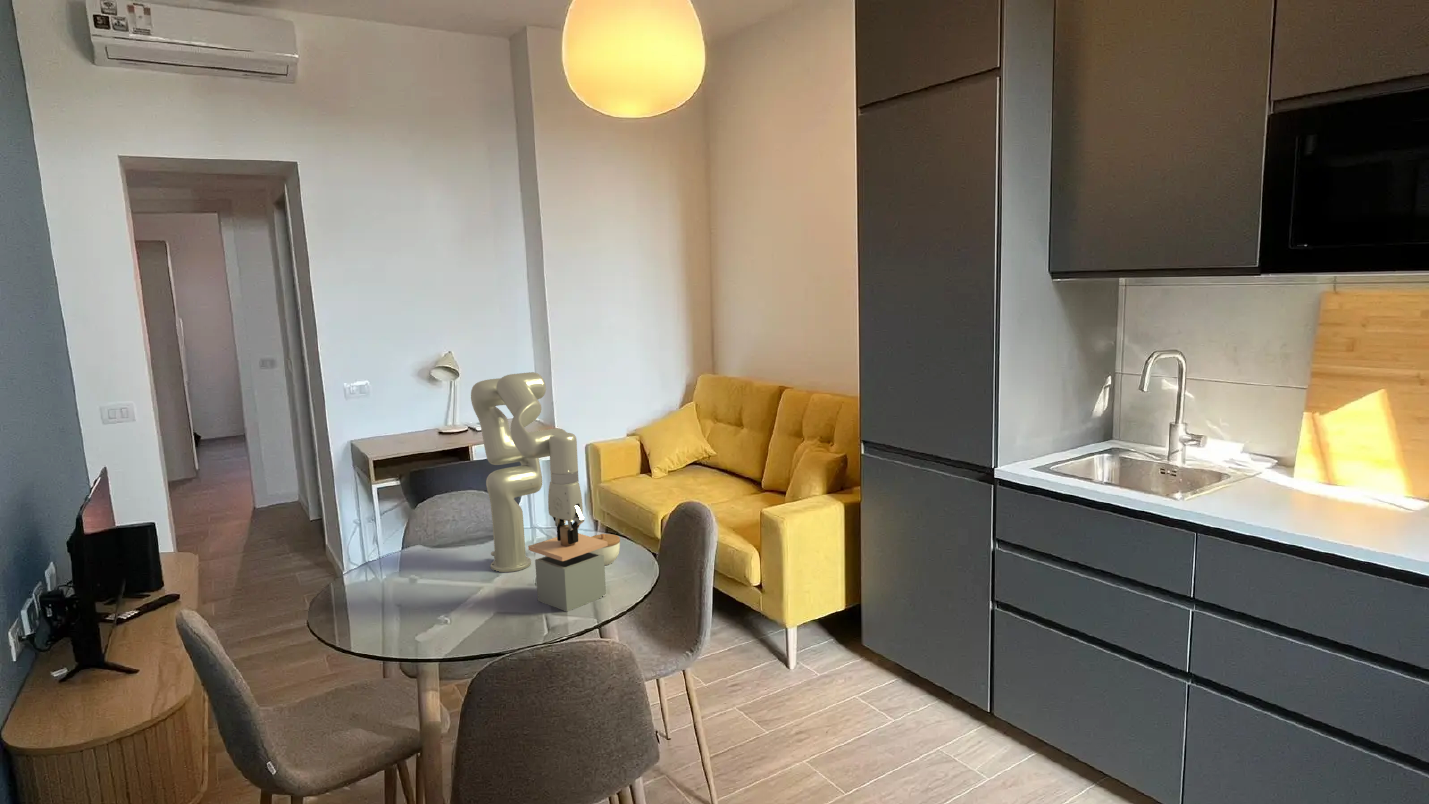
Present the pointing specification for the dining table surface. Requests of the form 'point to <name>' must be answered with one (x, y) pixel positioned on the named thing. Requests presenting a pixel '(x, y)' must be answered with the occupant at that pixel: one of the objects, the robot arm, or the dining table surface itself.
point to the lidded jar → (608, 547)
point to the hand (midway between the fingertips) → (567, 540)
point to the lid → (567, 546)
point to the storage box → (570, 580)
